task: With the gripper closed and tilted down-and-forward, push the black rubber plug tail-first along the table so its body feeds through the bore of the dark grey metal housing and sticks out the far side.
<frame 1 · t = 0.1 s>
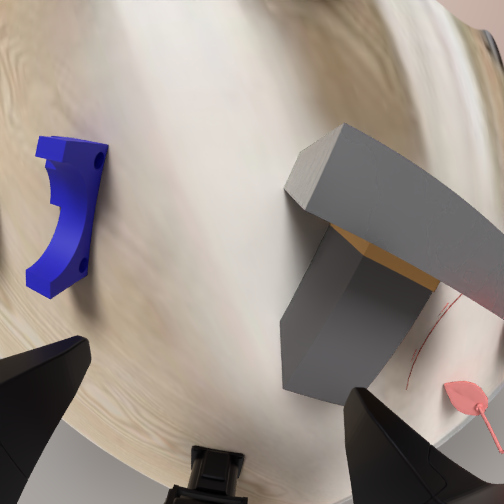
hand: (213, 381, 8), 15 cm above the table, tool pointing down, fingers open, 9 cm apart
figurine: (476, 336, 24), on the table
housing: (370, 209, 21), on the table
plug: (340, 271, 23), on the table
cable clip: (77, 206, 23), on the table
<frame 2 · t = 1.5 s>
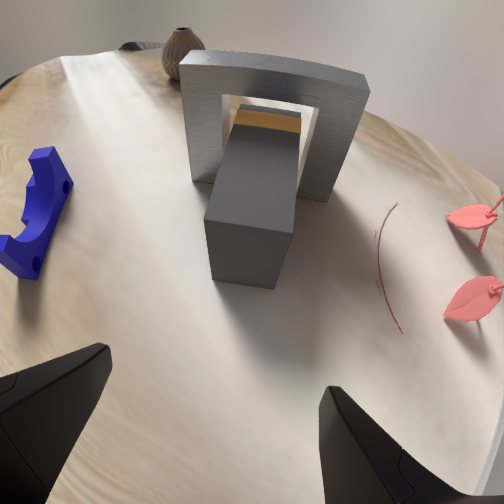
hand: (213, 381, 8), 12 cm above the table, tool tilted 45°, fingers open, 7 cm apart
vase: (185, 76, 40), on the table
figurine: (435, 258, 26), on the table
housing: (261, 179, 29), on the table
plug: (253, 223, 26), on the table
cable clip: (41, 228, 25), on the table
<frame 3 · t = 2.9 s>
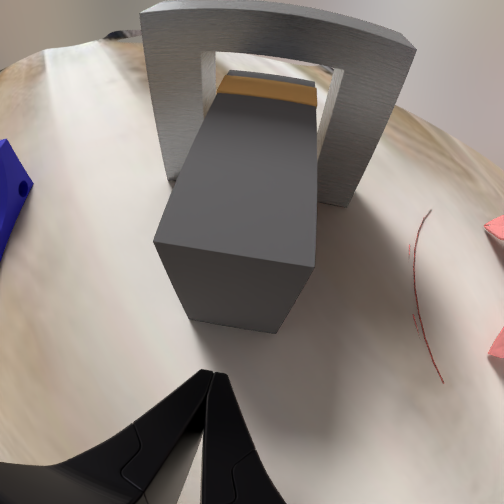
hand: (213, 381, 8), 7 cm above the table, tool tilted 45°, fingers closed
figurine: (477, 279, 19), on the table
housing: (259, 176, 22), on the table
plug: (248, 237, 19), on the table
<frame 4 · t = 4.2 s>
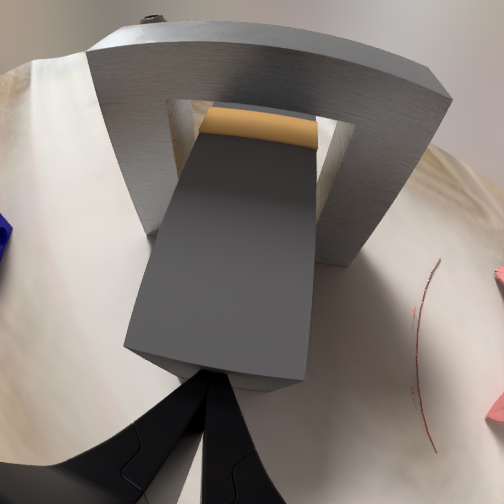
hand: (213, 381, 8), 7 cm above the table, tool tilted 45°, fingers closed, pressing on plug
figurine: (483, 335, 17), on the table
housing: (248, 231, 19), on the table
plug: (239, 285, 18), on the table, touching gripper
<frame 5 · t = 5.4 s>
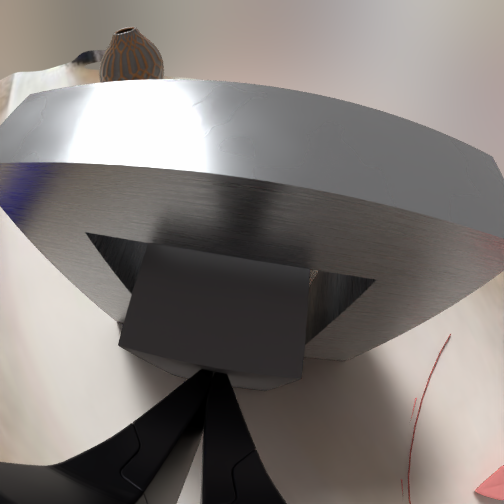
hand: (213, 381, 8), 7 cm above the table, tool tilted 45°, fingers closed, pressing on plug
vase: (136, 100, 27), on the table
figurine: (484, 411, 13), on the table
housing: (232, 321, 16), on the table
plug: (236, 284, 17), on the table, touching gripper
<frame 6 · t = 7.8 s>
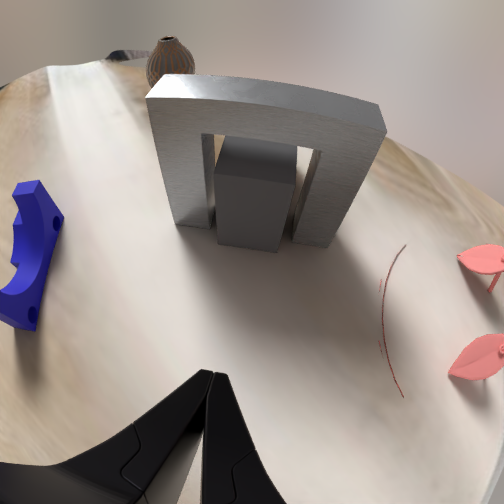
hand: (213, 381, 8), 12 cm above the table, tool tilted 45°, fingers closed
vase: (172, 91, 37), on the table
figurine: (444, 306, 23), on the table
housing: (253, 221, 26), on the table
plug: (256, 194, 28), on the table
cable clip: (33, 270, 22), on the table
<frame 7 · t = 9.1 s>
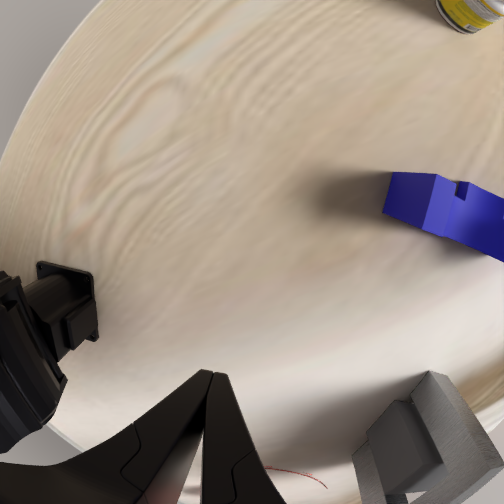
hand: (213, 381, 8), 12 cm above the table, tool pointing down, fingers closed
supplement bottle: (454, 14, 13), on the table
figurine: (271, 493, 29), on the table
housing: (398, 420, 24), on the table
plug: (418, 422, 24), on the table
cable clip: (450, 207, 18), on the table
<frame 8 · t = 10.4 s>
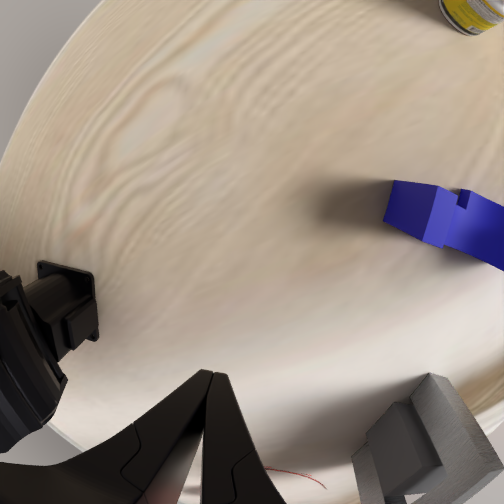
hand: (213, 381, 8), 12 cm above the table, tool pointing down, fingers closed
supplement bottle: (457, 15, 13), on the table
figurine: (271, 494, 29), on the table
housing: (398, 422, 24), on the table
plug: (418, 424, 24), on the table
cable clip: (451, 215, 18), on the table
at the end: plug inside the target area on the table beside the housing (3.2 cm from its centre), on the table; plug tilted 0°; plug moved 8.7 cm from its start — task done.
